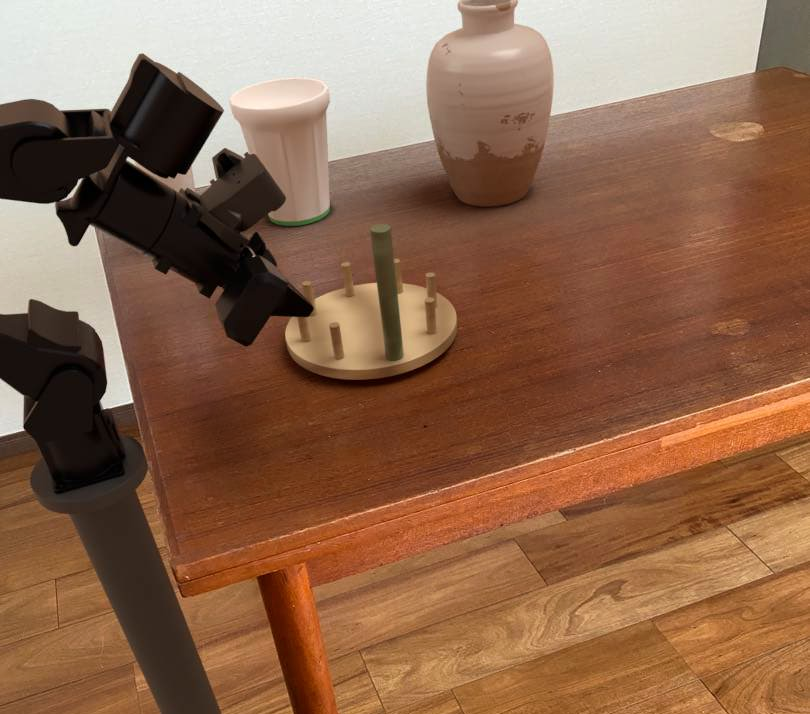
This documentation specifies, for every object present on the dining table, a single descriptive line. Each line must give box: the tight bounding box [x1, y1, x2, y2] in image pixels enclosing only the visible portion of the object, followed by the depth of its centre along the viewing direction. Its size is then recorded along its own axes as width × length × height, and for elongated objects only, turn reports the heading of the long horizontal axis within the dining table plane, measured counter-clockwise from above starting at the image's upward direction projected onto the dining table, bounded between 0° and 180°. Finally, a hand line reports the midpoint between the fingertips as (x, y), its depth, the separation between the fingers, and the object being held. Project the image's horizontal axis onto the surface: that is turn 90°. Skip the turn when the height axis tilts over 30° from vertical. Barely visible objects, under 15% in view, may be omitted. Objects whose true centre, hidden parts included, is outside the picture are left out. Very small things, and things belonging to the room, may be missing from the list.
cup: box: [228, 77, 331, 227], centre depth 115 cm, size 12×12×15 cm
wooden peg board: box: [284, 223, 458, 381], centre depth 88 cm, size 18×18×14 cm
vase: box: [425, 0, 555, 207], centre depth 112 cm, size 16×16×23 cm
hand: (310, 311), depth 81 cm, fingers closed
